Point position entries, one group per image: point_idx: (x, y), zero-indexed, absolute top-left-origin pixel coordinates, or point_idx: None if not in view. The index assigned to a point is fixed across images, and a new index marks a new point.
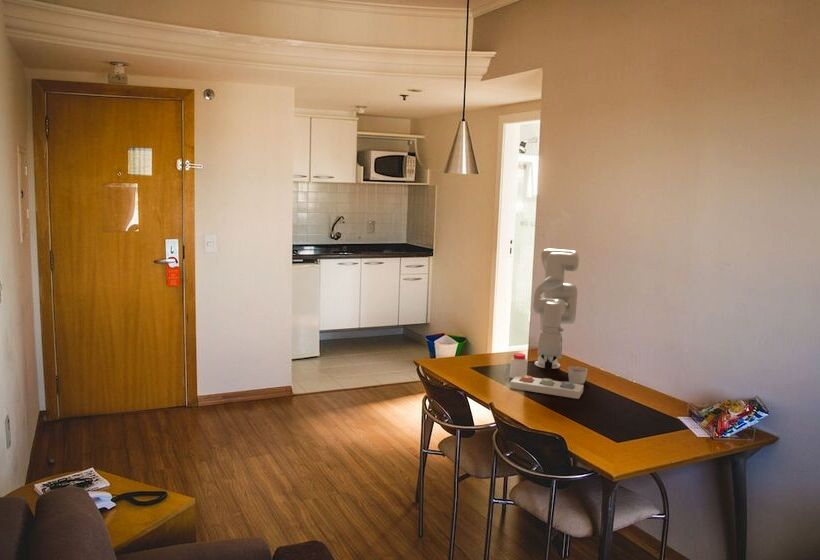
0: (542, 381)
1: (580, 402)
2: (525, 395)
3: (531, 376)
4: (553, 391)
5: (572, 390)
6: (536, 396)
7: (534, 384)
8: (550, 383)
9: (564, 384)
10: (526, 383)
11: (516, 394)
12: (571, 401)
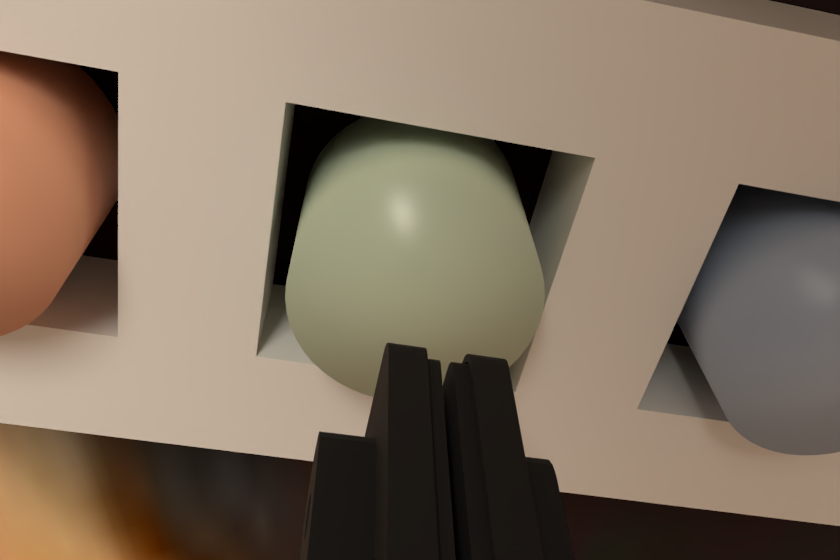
0: (315, 350)
1: (829, 555)
2: (131, 531)
3: (2, 145)
4: None
5: (823, 499)
6: (278, 524)
7: (182, 413)
8: None
9: (745, 432)
10: (27, 403)
11: (7, 532)
12: (721, 556)
